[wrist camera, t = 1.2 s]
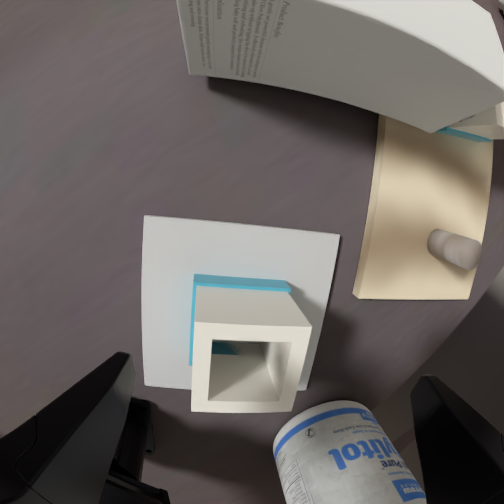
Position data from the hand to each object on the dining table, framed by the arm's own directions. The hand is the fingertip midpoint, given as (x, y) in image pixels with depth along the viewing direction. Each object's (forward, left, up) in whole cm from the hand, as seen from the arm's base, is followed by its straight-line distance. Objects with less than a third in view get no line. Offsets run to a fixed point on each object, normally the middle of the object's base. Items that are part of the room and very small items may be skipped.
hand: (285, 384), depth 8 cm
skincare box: (+15, +5, -7) cm, 17 cm away
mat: (-3, 0, -11) cm, 12 cm away
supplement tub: (-15, -9, -12) cm, 21 cm away
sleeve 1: (-3, 0, -11) cm, 11 cm away
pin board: (+9, -14, -11) cm, 20 cm away
